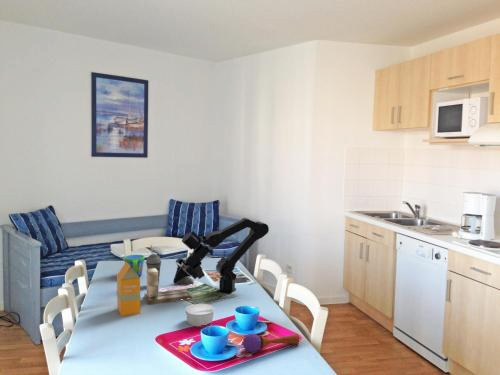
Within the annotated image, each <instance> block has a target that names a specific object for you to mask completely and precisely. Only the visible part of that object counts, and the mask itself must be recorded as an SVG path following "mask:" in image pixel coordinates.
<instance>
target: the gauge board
mask: <svg viewBox="0 0 500 375" xmlns="http://www.w3.org/2000/svg"><path fill="white" fill-rule="evenodd" d="M143 298H144V299H145V301H146V303H147V305H153V304H154V305H155V304H162V303H163V304H164V303H170V302H176V301H182V300H181V299H187V298H191V299H192V295H191V293H190V292H189V291H188V290H187V289H186V288H183V289H172V290H164V291H158V296H157V297H156V299H154V298H153V297H149V296H148V294H147V292H146V293H144V296H143ZM187 300H188V299H187Z"/></svg>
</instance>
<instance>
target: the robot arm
mask: <svg viewBox="0 0 500 375" xmlns="http://www.w3.org/2000/svg"><path fill="white" fill-rule="evenodd" d="M246 228H249V229H250V230H249V233H248V235H247V236H245V238H244V239H243V240H242V241H241V242H240V243H239V245H238V246H236V248H235V249H234V250H233V251H232V252H231V253H230V254H229V255H228V256H226V257H225V256H222V257H221V258H220V259H219V260H218V261H217V262H216V263H217V264H216V265H215V270H216V272H217V273H218V274H219V276H220V279H219V284H218V285H219V287H218V292H219V293H221V292H222V293H228V294H232V293H233V292H235V291H236V290H237V288H236V279H237V274H236V273H235V272H233V271H234V270H235V267H236V266H237V263H238V261H239V260H240V259H241V258H242V257H243V256H244V255H245V254H246V253H247V251H249V249H250V248H251V247H252V246H253V245H254V243H256V242H257V241H258V240H261V239H262V238H263V237H265V236H266V235H268V233H269V231H270V229H269V224H267V223H264V222H262V221H254V220H250V219H249V218H247V217H243V218H242V219H240V220H238V221H236V222H234V223H232V224H230V225H228V226H226V227H224V228H222V229H219V230H215V231H214V230H213V231H211V232H207V234H205V235H202V236H198V235H197V234H196V232H195V231H193V230H191V231H190V232H188V233H187V234H185V235H184V236H183V237H182V239H181V242H182V243H183V244H184V245H185V246H186V247H187V248H188V249H189V250H193V251H192V252H189V254H188V256H187V258H185V259H183V258H182V257H178V258H177V259H176V260H175V262H176V261H177V264H178V266H177V267H176V271H175V275H174V278H173V281H172V282H173V283H176V282H178V281H179V280H181V279H182V278H184V277H190V278H191V277H192V279H194V280H196V279H199V280H200V279H202V278H203V277H205V276H206V275H205V273H204V270H203V268H202V266H201V265H202V261H203V260H204V259H205V257H207V255H208V254H210V255H212V256H213V255H214V248H216V247H218V246H219V245H221V244H222V243H223V242H224V240H225V239H227V238H229V237H231V236H234V235H235V234H237V233H239V232H241V231H243V230H244V229H246Z"/></svg>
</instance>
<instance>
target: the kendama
mask: <svg viewBox="0 0 500 375" xmlns="http://www.w3.org/2000/svg"><path fill="white" fill-rule="evenodd" d="M299 343H300V337H299V334H298V333H293V334H291V335H284V336H281V337H275V338H271V339H270V338H268V337H265V336H263V335H257V333H248V334H246V335H245V337H244V338H243V340H242V344H243V348H244V350H245V351H246V352H248V353H250V352H253V353H257V352H258V351H259V350H260V349H261V350H263V349H264V348H265V347H267V346H268V345H271V344H289V345H290V344H291V345H293V344H294V345H298V344H299Z"/></svg>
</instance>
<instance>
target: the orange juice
mask: <svg viewBox="0 0 500 375" xmlns="http://www.w3.org/2000/svg"><path fill="white" fill-rule="evenodd" d="M116 301H117V302H116V304H117V307H116V308H117V309H116V310H117V311H118V312H119V315H120V316H121V317H125V316H132V315H139V314H141V278H140V276H138V275H137V274H136V272H135V271H134V270H133V269H132V267H131V266H130V265H129V264H128V263H127V262H125V261H124V264H123V266H122V267H121V268H120V270H119V272H118V273H117V274H116Z"/></svg>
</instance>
